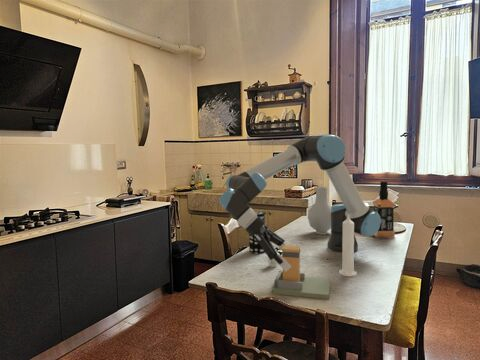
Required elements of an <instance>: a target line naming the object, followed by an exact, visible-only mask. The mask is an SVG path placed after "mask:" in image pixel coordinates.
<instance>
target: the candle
mask: <svg viewBox="0 0 480 360" xmlns="http://www.w3.org/2000/svg"><path fill="white" fill-rule="evenodd" d="M354 234H355V232H354V222H353V221H351V220H350V217H349V215H348V216H347V219H346V220H345V221H344V222H343V238H342V252H341V254H342V259H341V260H342V261H341V263H342V265H341V266H342V267H341V268H342V269H339V271H338V273H339V275H341V276H344V277H350V278H351V277H356V276H357V275H358V272H357V270H355V267H354V265H355V264H354V263H355V262H354V261H355V260H354V259H355V257H354V256H355V254H354V252H355V251H354Z"/></svg>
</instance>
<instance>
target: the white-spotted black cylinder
mask: <svg viewBox="0 0 480 360" xmlns="http://www.w3.org/2000/svg"><path fill="white" fill-rule="evenodd" d="M254 211H255V210H254ZM255 212H256V213H257V217H258V216H259V217H260V218H261V219H262V220H263V221H264V222H265V224H264V225H263V227H265V226H266V212H264V211H258V210H257V211H255ZM255 237H256V234H254V235H253V236H251V235H250V234H249V233H248V241H249V242H248V243H249V246H248V247H249V253H250V254H253V255H258V254H259V255H261V254H264V253H265V251H264V250H263V249H262V247H261V246H260V244H259V243H258V242H257V241H256V239H255ZM265 254H266V253H265Z"/></svg>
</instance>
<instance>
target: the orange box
mask: <svg viewBox="0 0 480 360" xmlns="http://www.w3.org/2000/svg"><path fill="white" fill-rule="evenodd" d="M281 252H282V255H281V256H282V257H283V258H284V259H285V260H286V261H287V262H288V263H289V264H290V265H291V268H290V269H289V270H287V271H285V270H284V269H283V268H282V271H283V280H285V281H297V282H300V273H301V245H289V244H286V245H284V247H283V249H282V250H281Z"/></svg>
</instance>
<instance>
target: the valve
mask: <svg viewBox="0 0 480 360" xmlns="http://www.w3.org/2000/svg"><path fill="white" fill-rule="evenodd" d="M274 249H275V250H276V252H277V254H278V253H279V254H280V255H281V256H282V250H281V249H280V248H279V246H277V247H274ZM279 250H280V251H279ZM268 266H269V267H271V268H277V267H278V263H277V262H276V261H275V260H274V259H272V260H270V259H269V258H268Z"/></svg>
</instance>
